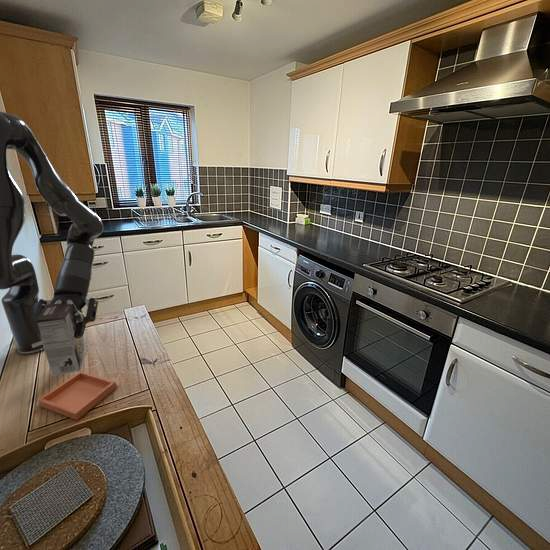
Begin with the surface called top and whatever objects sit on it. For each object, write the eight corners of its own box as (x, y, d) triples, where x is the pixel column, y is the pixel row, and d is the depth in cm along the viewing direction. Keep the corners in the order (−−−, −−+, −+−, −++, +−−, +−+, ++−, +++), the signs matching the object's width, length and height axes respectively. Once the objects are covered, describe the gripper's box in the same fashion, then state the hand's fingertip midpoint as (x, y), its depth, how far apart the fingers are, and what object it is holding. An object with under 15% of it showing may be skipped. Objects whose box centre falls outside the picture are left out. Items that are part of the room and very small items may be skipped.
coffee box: (61, 355, 81) (46, 303, 75) (88, 351, 83) (75, 300, 77) (51, 376, 73) (33, 320, 67) (80, 371, 75) (65, 316, 69)
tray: (39, 406, 78) (37, 400, 77) (82, 376, 89) (80, 370, 89) (77, 420, 74) (75, 414, 73) (116, 387, 85) (115, 381, 85)
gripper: (37, 274, 76) (19, 336, 69) (95, 273, 77) (82, 334, 71) (54, 285, 83) (39, 342, 76) (107, 284, 84) (97, 340, 78)
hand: (60, 338), depth 74 cm, fingers closed on coffee box, 7 cm apart
